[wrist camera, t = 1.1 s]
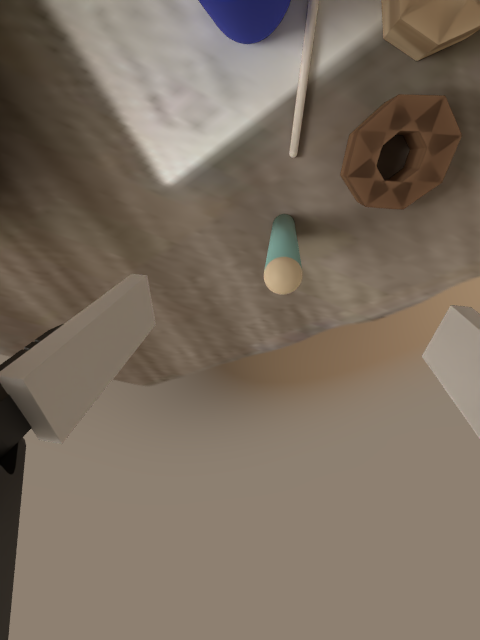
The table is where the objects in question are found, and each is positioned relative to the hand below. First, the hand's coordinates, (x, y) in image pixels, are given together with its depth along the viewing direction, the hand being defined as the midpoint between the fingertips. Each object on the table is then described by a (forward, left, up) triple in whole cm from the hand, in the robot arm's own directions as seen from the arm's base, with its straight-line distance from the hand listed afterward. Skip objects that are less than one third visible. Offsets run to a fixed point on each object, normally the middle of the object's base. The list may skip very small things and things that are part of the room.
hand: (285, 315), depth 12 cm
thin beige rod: (0, +14, -21) cm, 25 cm away
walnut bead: (+9, +7, -21) cm, 23 cm away
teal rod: (0, 0, -21) cm, 21 cm away
